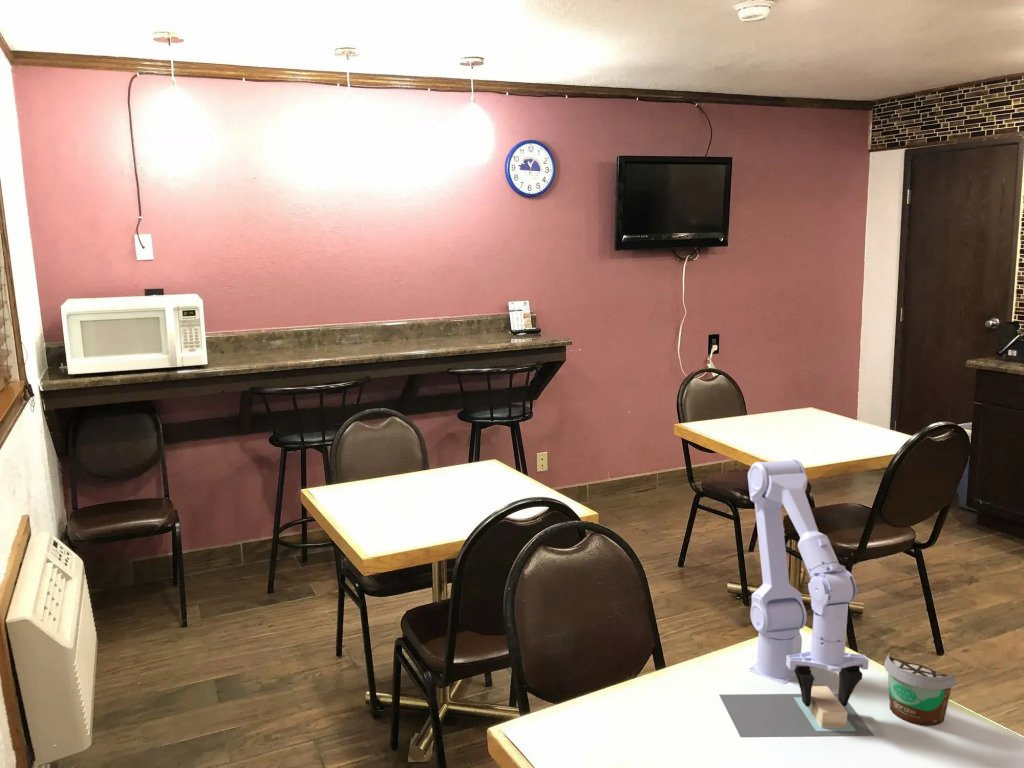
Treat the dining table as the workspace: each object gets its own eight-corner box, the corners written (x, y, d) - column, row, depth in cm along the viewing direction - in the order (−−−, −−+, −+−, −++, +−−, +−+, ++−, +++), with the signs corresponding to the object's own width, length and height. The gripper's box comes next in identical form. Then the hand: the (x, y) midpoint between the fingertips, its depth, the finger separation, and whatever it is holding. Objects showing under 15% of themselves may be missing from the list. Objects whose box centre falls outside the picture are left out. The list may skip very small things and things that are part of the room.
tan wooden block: (802, 700, 155) (803, 686, 155) (826, 700, 156) (827, 685, 155) (821, 727, 147) (822, 712, 146) (846, 727, 147) (847, 712, 146)
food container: (871, 712, 153) (875, 662, 151) (882, 699, 157) (886, 651, 156) (942, 738, 144) (947, 686, 143) (952, 724, 149) (957, 673, 147)
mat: (841, 695, 158) (841, 693, 158) (874, 738, 144) (874, 735, 144) (719, 696, 158) (719, 694, 158) (740, 739, 144) (740, 736, 144)
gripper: (797, 645, 145) (793, 715, 147) (878, 645, 145) (872, 715, 147) (783, 627, 152) (779, 694, 154) (860, 627, 152) (855, 694, 154)
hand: (824, 703), depth 151 cm, fingers open, 6 cm apart
